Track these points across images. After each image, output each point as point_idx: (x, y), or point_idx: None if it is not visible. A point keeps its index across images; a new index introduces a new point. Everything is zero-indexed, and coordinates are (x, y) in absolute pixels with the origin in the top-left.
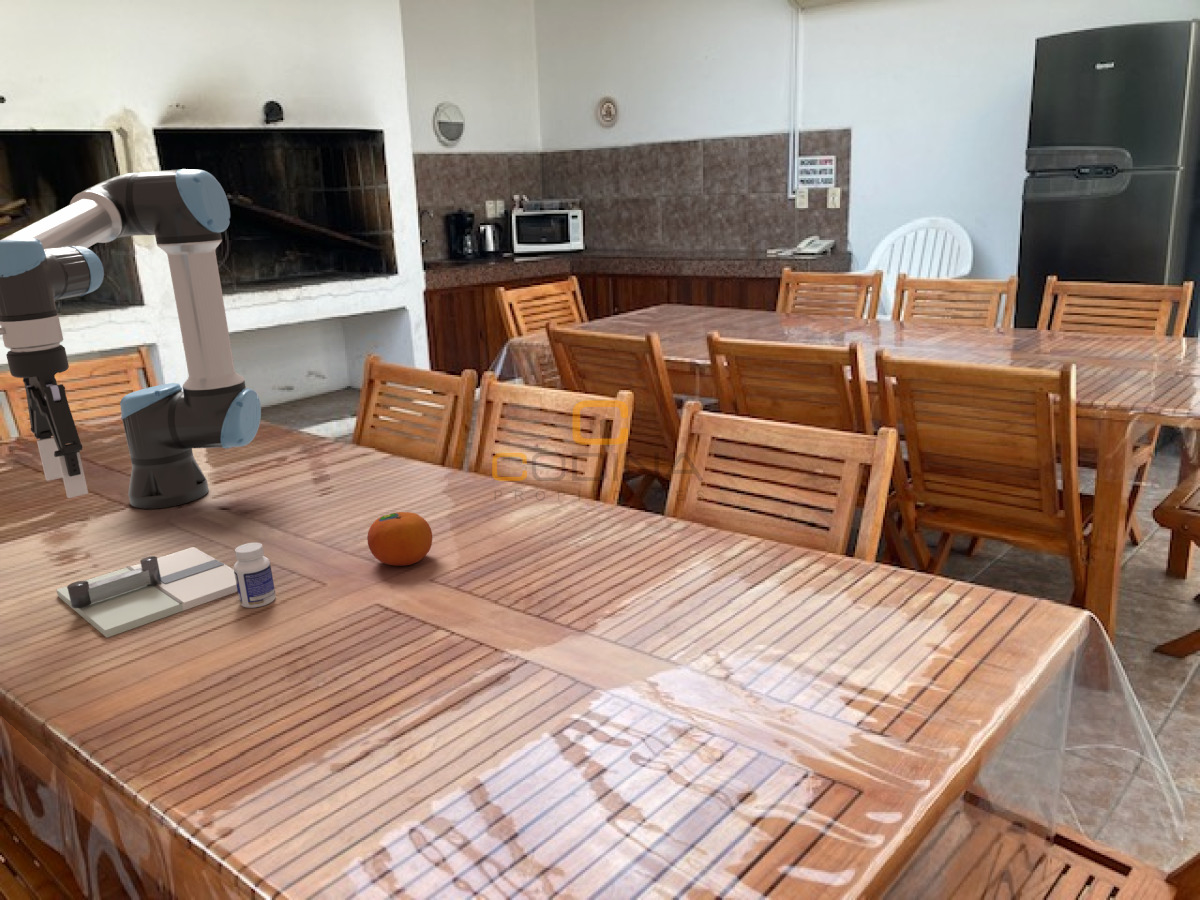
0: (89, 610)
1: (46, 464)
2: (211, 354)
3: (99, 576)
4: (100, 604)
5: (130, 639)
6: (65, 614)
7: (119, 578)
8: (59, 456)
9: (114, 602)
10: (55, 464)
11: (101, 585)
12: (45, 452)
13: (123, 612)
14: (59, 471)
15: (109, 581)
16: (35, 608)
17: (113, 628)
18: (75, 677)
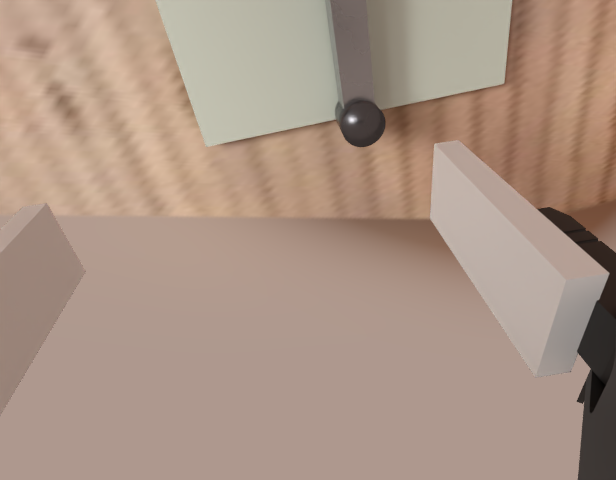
0: (379, 99)
1: (44, 316)
2: None
3: (176, 52)
4: None
5: (543, 39)
6: (318, 135)
7: (364, 25)
8: (570, 366)
9: (376, 45)
10: (29, 277)
11: (371, 72)
12: (4, 366)
13: (449, 35)
14: (42, 242)
15: (365, 52)
16: (246, 180)
17: (504, 67)
18: (592, 142)
